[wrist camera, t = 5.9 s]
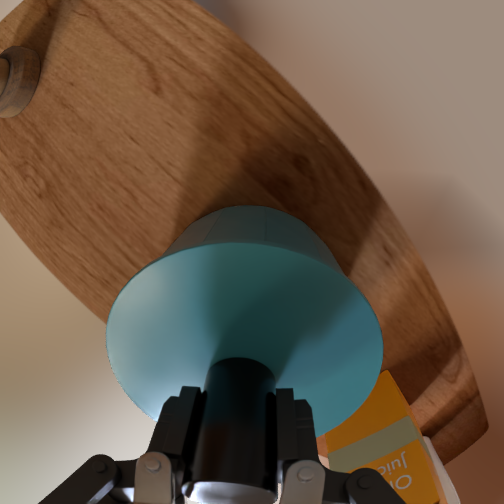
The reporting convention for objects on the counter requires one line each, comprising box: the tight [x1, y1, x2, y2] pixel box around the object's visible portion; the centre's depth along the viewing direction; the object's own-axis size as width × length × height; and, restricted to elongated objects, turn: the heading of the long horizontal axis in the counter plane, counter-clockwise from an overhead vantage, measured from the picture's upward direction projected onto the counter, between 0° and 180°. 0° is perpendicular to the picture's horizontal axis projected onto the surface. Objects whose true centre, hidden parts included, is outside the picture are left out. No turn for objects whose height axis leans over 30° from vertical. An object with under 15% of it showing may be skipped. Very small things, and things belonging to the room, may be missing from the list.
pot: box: [163, 205, 344, 274], centre depth 17 cm, size 13×13×8 cm
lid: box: [106, 239, 383, 504], centre depth 10 cm, size 13×13×7 cm
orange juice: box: [325, 369, 448, 504], centre depth 16 cm, size 8×9×20 cm
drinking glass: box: [423, 436, 461, 504], centre depth 22 cm, size 7×7×15 cm
